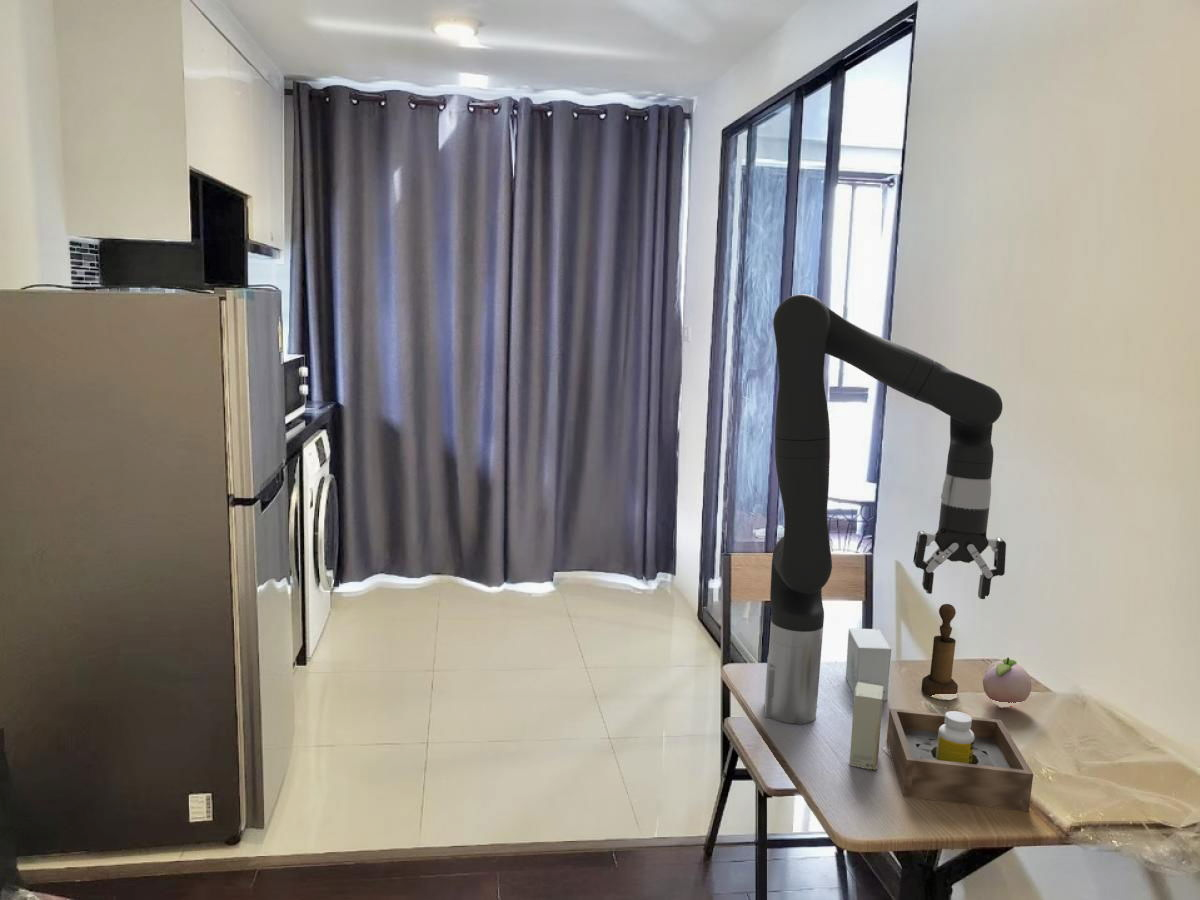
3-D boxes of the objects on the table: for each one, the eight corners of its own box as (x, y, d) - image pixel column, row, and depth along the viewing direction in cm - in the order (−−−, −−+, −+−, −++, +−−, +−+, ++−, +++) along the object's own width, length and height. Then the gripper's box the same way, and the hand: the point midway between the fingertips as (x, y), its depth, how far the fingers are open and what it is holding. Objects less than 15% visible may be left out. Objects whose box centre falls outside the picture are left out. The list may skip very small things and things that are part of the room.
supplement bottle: (973, 784, 141) (979, 726, 139) (937, 779, 142) (943, 721, 140) (966, 767, 146) (972, 711, 145) (931, 763, 147) (937, 707, 146)
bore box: (903, 796, 137) (906, 759, 136) (886, 741, 154) (889, 708, 153) (1028, 811, 134) (1033, 774, 133) (997, 753, 151) (1000, 719, 150)
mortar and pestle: (964, 696, 174) (973, 607, 171) (943, 703, 170) (953, 612, 167) (934, 683, 179) (943, 597, 176) (914, 690, 175) (922, 602, 172)
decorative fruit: (1026, 723, 163) (1032, 671, 161) (977, 712, 167) (983, 661, 165) (1030, 704, 171) (1036, 654, 169) (983, 694, 175) (989, 645, 173)
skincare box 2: (876, 771, 144) (882, 700, 142) (847, 766, 145) (853, 695, 143) (878, 754, 150) (884, 685, 148) (851, 748, 151) (857, 680, 149)
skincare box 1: (843, 676, 181) (847, 626, 179) (876, 678, 181) (880, 628, 179) (853, 698, 171) (858, 646, 169) (888, 701, 170) (893, 648, 169)
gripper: (924, 503, 148) (914, 597, 150) (1016, 510, 145) (1004, 606, 148) (917, 494, 155) (908, 584, 158) (1005, 501, 152) (994, 592, 155)
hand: (954, 595), depth 153 cm, fingers open, 8 cm apart
